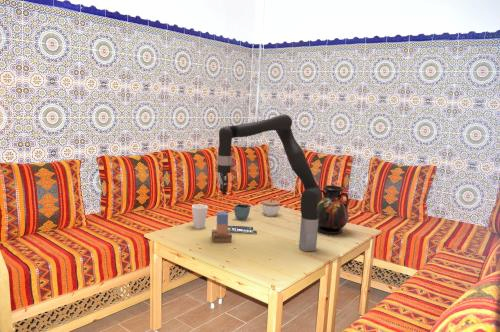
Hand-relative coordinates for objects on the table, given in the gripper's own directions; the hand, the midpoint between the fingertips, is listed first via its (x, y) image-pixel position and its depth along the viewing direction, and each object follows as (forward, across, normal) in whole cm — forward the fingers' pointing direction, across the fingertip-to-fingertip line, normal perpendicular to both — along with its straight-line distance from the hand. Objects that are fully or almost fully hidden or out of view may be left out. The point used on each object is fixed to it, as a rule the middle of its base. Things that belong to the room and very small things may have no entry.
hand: (223, 193), depth 215 cm
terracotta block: (+22, 0, 0) cm, 23 cm away
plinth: (+26, 0, 0) cm, 27 cm away
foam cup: (+26, +22, +11) cm, 36 cm away
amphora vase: (+27, +12, -69) cm, 75 cm away
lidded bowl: (+27, +48, -40) cm, 68 cm away
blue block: (+17, 0, 0) cm, 17 cm away
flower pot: (+27, +38, -18) cm, 50 cm away
